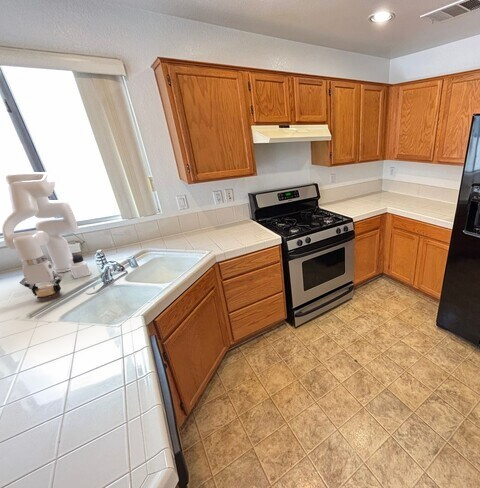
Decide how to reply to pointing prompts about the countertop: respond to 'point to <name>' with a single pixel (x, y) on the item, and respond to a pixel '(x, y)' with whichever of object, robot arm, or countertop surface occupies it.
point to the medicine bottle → (78, 266)
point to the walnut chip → (49, 297)
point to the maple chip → (45, 290)
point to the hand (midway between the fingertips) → (48, 292)
